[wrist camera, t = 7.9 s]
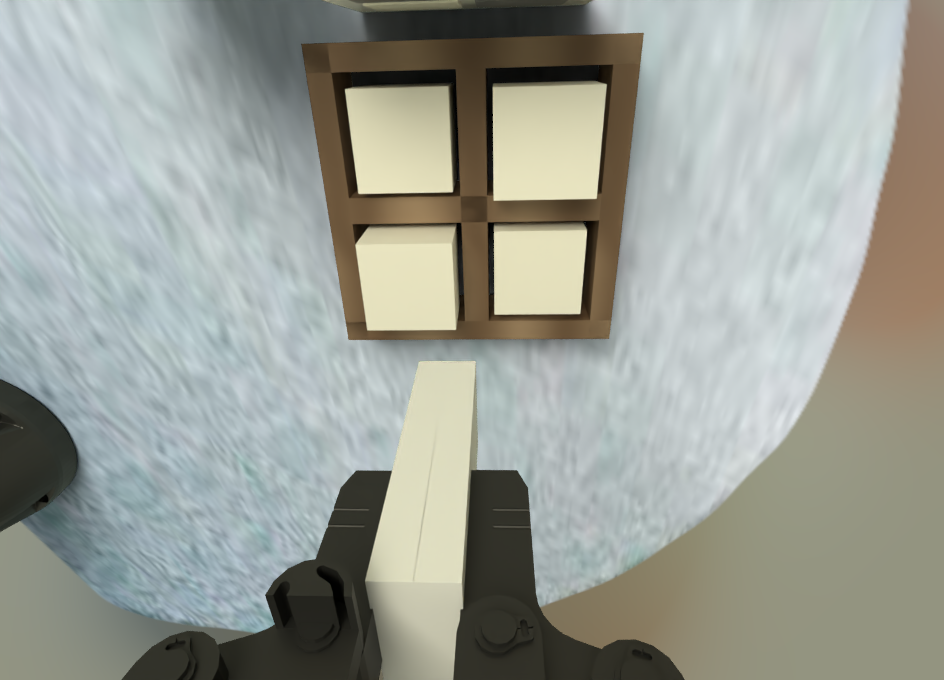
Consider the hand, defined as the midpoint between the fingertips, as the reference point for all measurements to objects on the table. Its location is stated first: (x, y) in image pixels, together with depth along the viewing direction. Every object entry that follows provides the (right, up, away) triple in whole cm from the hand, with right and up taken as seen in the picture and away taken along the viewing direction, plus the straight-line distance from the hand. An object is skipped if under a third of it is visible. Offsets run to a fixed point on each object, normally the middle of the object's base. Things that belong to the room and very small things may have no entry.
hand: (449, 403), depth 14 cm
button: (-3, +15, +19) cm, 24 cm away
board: (+1, +12, +21) cm, 24 cm away
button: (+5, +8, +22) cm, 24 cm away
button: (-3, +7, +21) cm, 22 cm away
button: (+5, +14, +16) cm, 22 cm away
